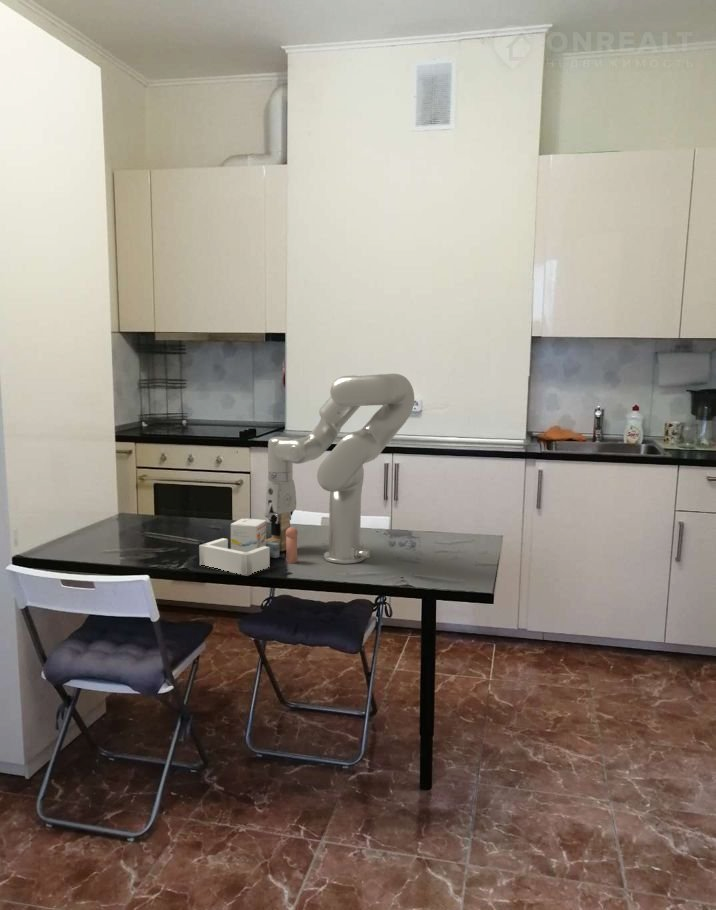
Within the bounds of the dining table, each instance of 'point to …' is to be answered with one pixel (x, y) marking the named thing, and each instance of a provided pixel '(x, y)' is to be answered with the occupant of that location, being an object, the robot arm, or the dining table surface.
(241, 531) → the ink box
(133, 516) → the dining table surface
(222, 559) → the frame
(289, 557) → the figure left
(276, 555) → the kicker
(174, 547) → the dining table surface
